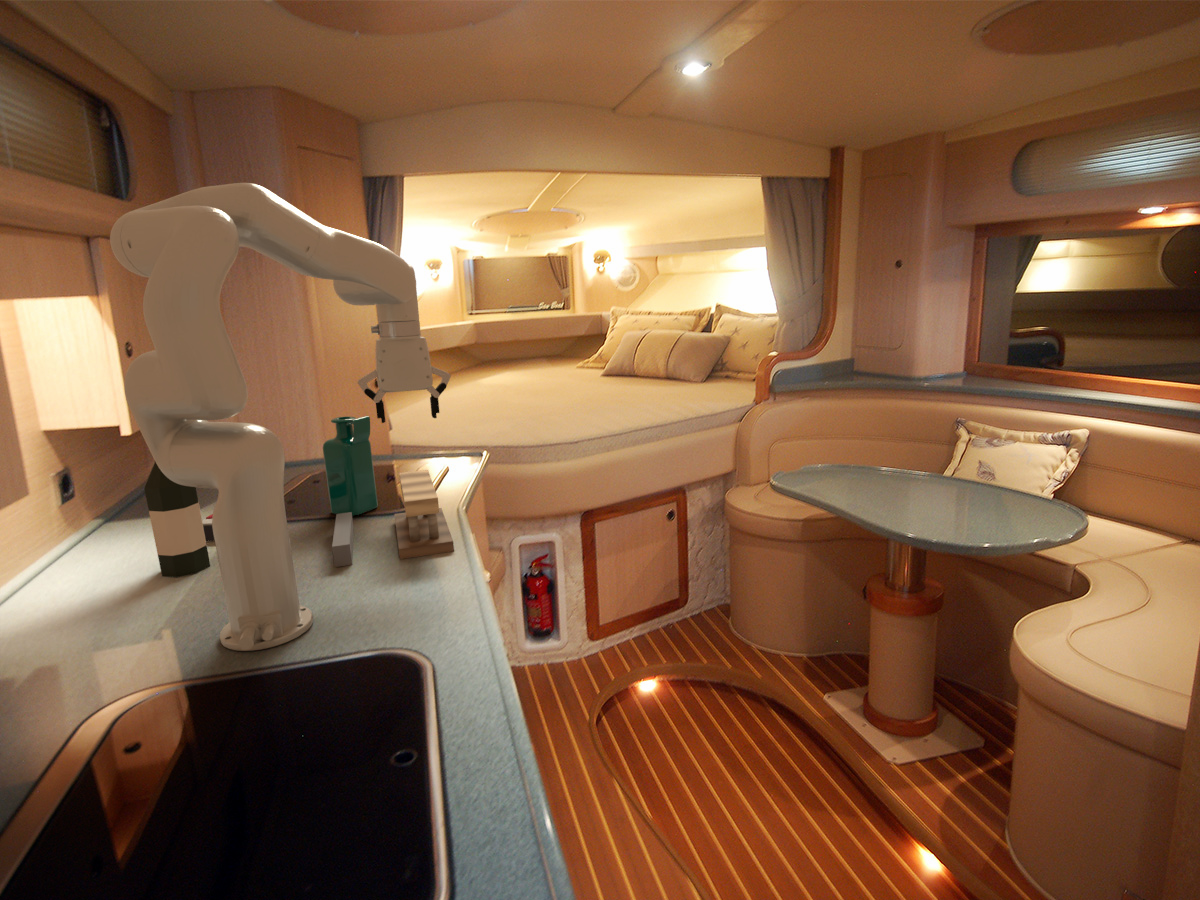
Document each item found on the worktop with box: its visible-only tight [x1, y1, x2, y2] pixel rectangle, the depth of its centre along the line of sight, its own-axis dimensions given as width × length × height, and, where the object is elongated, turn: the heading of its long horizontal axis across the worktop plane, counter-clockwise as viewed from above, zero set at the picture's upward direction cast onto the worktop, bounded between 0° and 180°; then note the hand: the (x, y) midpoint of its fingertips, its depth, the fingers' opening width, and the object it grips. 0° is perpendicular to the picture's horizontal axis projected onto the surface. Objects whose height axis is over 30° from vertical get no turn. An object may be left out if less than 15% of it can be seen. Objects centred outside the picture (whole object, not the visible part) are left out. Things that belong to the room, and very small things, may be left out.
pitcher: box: [322, 415, 379, 517], centre depth 155 cm, size 10×8×22 cm
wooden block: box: [399, 469, 440, 517], centre depth 137 cm, size 22×6×3 cm, turn 18°
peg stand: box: [393, 507, 455, 560], centre depth 138 cm, size 22×10×8 cm, turn 18°
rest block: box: [331, 512, 355, 568], centre depth 134 cm, size 20×3×4 cm, turn 18°
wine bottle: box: [144, 461, 211, 578], centre depth 124 cm, size 8×8×30 cm
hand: (409, 419), depth 133 cm, fingers open, 9 cm apart
